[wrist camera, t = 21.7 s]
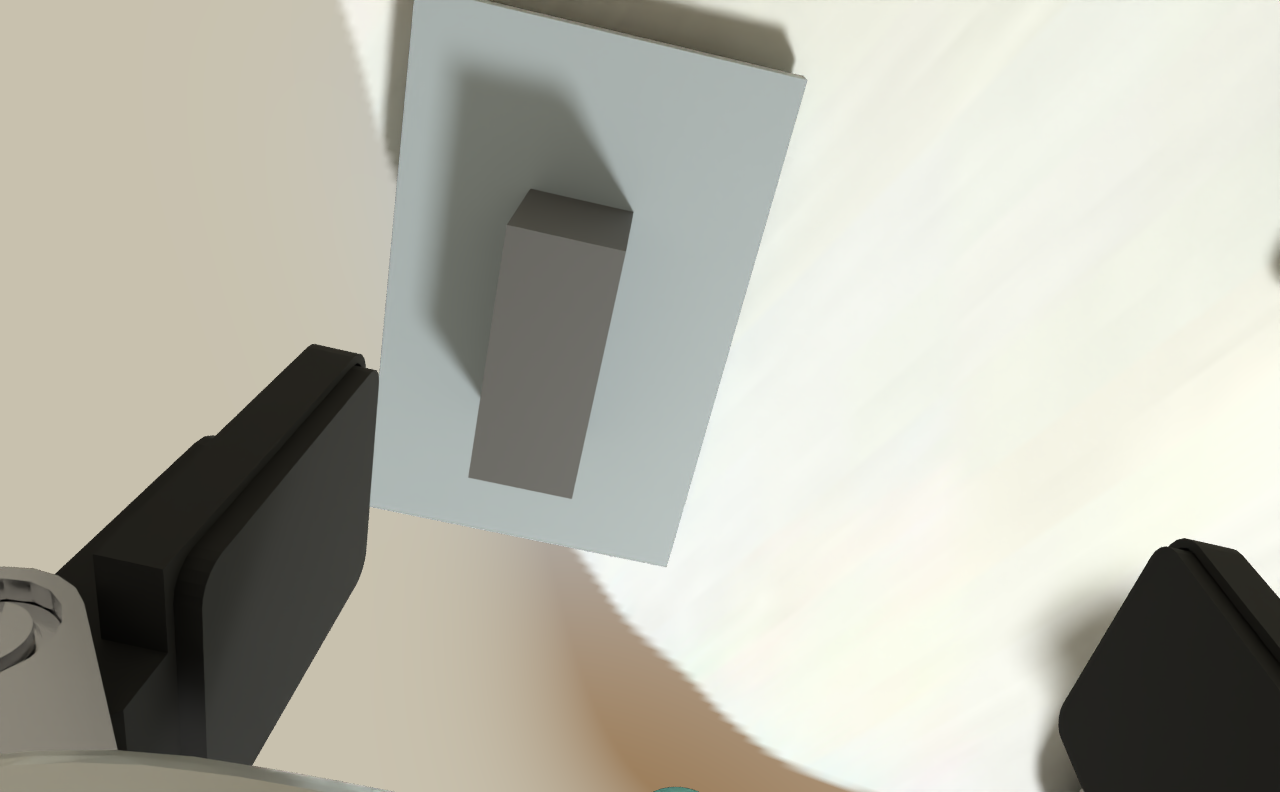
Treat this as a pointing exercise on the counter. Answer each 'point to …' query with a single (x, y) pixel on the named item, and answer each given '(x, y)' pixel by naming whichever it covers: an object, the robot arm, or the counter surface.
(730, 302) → the lid
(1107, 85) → the counter surface
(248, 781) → the robot arm
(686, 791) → the cupcake
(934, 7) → the counter surface
